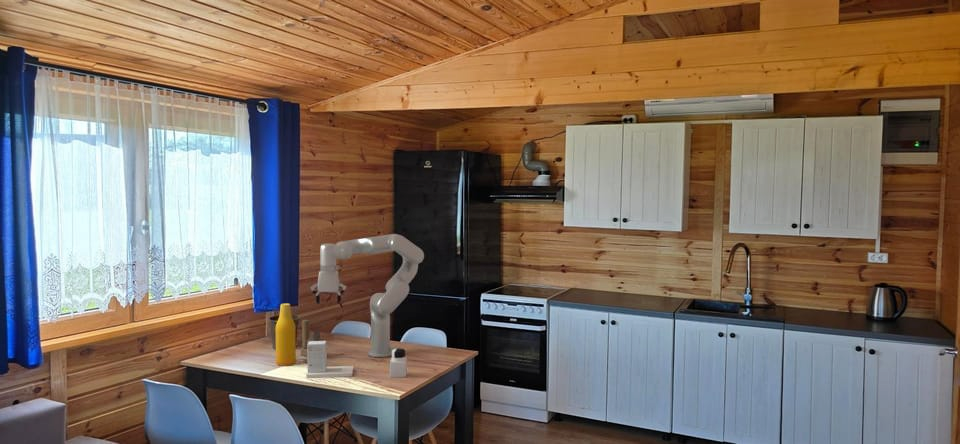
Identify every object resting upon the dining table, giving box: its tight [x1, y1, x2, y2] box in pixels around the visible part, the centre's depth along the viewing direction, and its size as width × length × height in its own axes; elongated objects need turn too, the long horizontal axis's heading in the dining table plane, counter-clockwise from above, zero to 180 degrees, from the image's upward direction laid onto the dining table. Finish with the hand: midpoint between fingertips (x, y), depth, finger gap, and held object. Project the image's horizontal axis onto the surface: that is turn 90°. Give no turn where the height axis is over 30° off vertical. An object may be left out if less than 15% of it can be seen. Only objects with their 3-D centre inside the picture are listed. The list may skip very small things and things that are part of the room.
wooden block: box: [300, 319, 321, 358], centre depth 326 cm, size 4×11×18 cm, turn 54°
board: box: [305, 365, 354, 379], centre depth 298 cm, size 20×12×2 cm, turn 97°
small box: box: [306, 340, 328, 372], centre depth 297 cm, size 8×6×13 cm
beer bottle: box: [275, 303, 297, 367], centre depth 313 cm, size 9×9×29 cm
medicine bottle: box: [389, 348, 408, 378], centre depth 295 cm, size 7×7×12 cm
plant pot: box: [267, 314, 301, 350], centre depth 344 cm, size 16×16×16 cm
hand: (328, 303), depth 318 cm, fingers open, 9 cm apart
